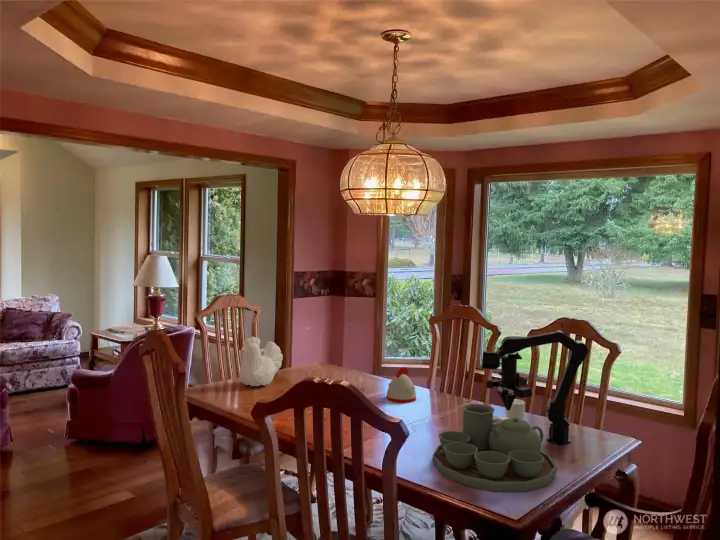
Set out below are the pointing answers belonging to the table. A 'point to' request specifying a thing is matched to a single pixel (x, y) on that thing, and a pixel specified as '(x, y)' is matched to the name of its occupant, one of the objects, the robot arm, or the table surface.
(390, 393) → the chicken tea cozy
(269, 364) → the decorative rooster
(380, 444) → the table surface
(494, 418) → the slate blue key
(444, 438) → the tea set
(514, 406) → the white cup
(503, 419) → the white key
